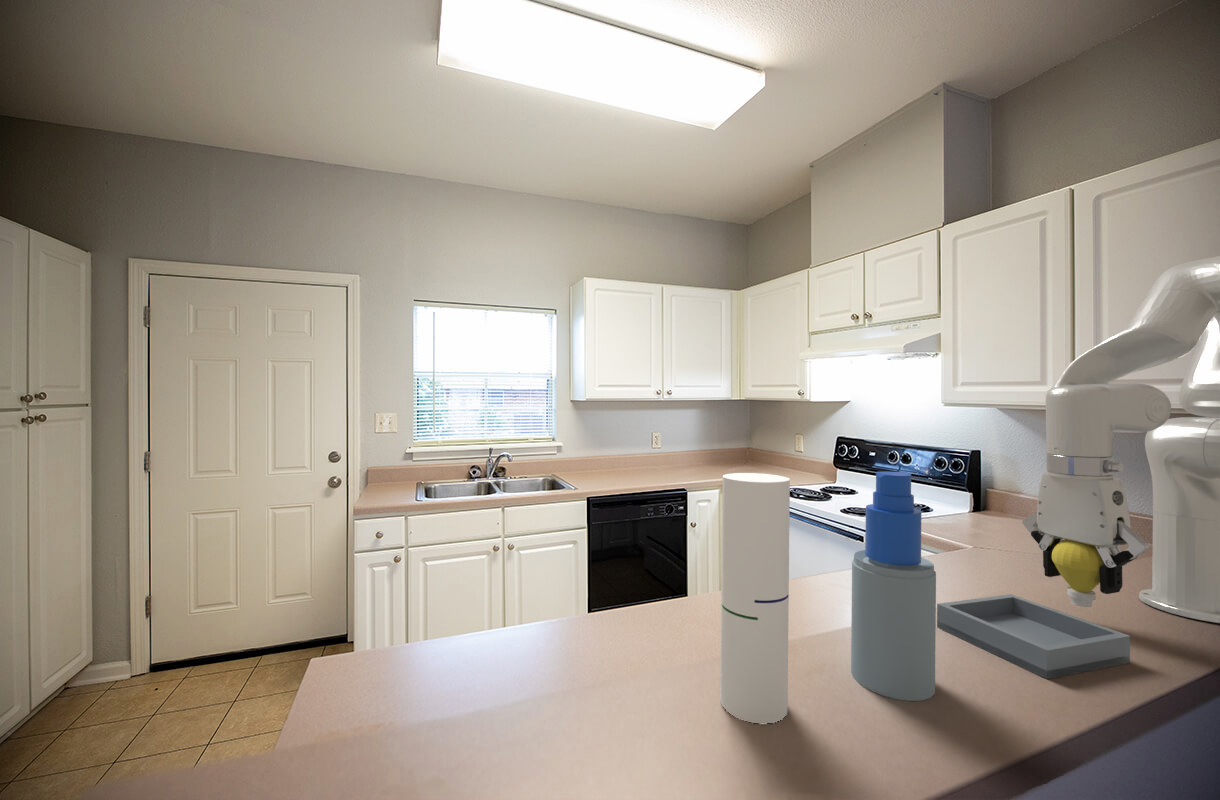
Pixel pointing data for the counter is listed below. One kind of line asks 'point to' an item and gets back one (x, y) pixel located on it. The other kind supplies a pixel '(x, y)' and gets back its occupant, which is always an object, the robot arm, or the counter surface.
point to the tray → (1034, 635)
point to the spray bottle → (893, 598)
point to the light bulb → (1078, 570)
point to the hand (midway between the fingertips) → (1080, 582)
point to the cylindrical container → (755, 596)
